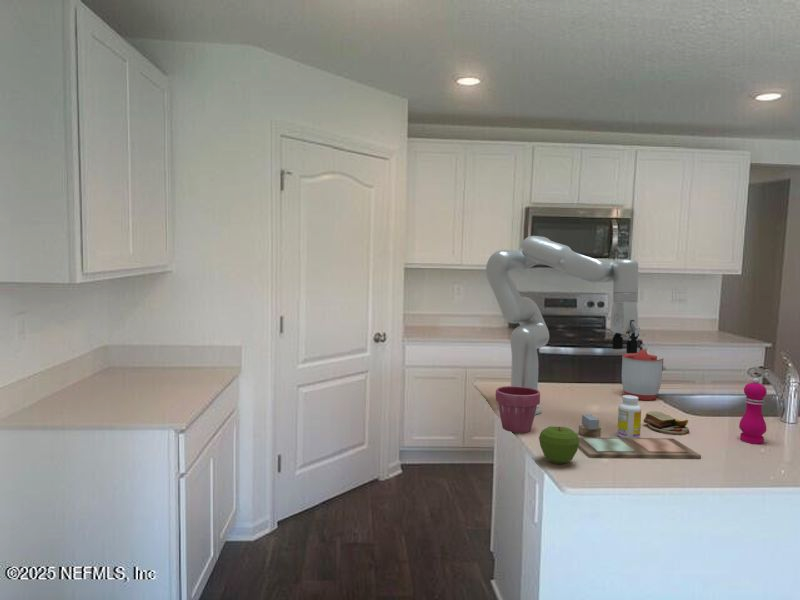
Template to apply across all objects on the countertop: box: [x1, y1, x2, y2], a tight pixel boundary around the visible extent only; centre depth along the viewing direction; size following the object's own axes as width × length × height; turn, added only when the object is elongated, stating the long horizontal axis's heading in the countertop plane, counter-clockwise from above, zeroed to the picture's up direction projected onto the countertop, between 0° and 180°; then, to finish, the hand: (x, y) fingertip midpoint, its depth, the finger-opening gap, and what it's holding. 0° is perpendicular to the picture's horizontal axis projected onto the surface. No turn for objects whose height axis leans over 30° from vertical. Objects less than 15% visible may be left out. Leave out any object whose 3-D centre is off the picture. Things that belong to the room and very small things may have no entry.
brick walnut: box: [577, 424, 602, 438], centre depth 178 cm, size 6×3×3 cm, turn 93°
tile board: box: [578, 436, 702, 460], centre depth 166 cm, size 32×15×1 cm, turn 92°
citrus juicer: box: [621, 348, 667, 401], centre depth 230 cm, size 16×17×20 cm
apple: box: [538, 425, 580, 465], centre depth 153 cm, size 11×10×10 cm
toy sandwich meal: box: [643, 410, 690, 435], centre depth 187 cm, size 12×14×5 cm
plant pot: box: [495, 385, 541, 434], centre depth 183 cm, size 14×14×13 cm
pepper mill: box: [738, 377, 768, 445], centre depth 176 cm, size 7×7×20 cm
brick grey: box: [581, 414, 600, 429], centre depth 178 cm, size 6×3×3 cm, turn 4°
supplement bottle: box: [617, 394, 642, 438], centre depth 177 cm, size 7×7×13 cm
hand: (624, 350), depth 182 cm, fingers open, 9 cm apart
